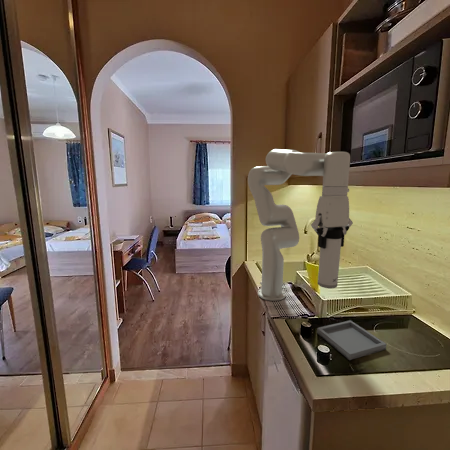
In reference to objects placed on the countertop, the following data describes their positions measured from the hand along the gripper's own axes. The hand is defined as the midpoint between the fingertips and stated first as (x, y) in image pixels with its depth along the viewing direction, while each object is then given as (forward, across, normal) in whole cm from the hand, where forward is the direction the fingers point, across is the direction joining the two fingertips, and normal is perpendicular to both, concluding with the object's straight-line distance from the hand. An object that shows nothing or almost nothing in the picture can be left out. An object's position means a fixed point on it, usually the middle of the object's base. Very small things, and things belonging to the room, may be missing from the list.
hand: (330, 246), depth 90 cm
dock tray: (+32, -6, +6) cm, 33 cm away
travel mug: (+14, 0, 0) cm, 14 cm away
